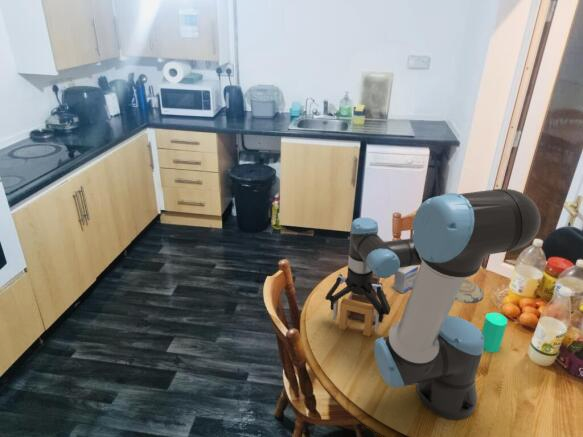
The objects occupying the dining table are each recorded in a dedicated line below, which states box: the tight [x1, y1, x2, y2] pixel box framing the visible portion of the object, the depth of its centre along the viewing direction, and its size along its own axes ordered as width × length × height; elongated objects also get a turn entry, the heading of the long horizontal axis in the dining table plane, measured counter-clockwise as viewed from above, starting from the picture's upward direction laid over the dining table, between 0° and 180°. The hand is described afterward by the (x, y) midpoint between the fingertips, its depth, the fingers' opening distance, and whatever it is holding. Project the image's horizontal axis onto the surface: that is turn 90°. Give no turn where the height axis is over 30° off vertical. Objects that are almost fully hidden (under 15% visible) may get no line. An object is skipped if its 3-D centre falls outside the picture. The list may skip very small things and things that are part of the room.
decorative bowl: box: [454, 278, 485, 304], centre depth 156 cm, size 15×4×15 cm
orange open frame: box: [338, 297, 374, 337], centre depth 135 cm, size 3×10×10 cm, turn 68°
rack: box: [347, 273, 387, 326], centre depth 145 cm, size 16×12×12 cm
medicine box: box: [392, 265, 419, 295], centre depth 156 cm, size 8×4×9 cm, turn 129°
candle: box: [481, 312, 509, 353], centre depth 128 cm, size 6×6×12 cm
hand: (355, 323), depth 137 cm, fingers open, 13 cm apart
